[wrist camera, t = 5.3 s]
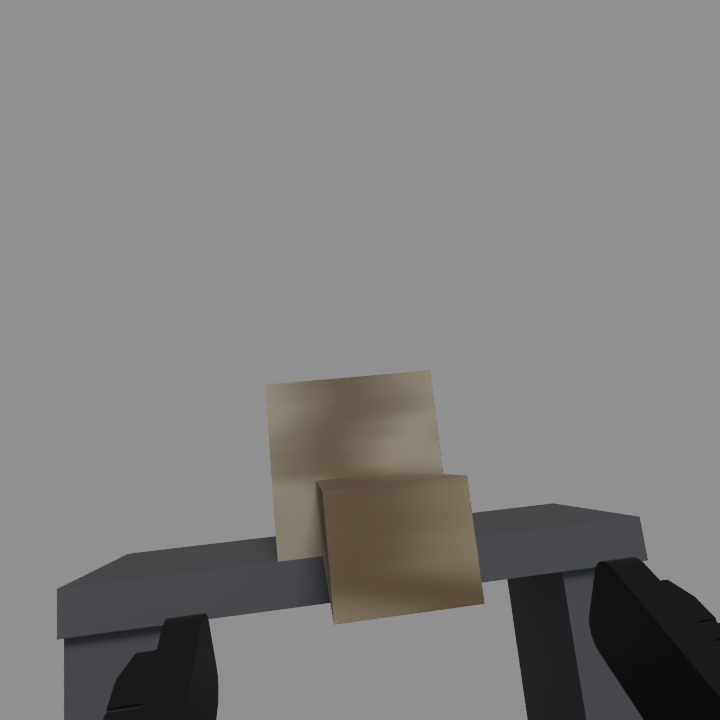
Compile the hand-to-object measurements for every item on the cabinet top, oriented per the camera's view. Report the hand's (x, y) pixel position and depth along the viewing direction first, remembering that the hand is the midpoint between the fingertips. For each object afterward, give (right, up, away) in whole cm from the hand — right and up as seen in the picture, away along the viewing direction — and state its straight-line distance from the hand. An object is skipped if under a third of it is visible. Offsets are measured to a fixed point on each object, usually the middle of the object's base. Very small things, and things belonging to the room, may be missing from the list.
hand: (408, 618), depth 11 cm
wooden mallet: (-1, -1, +6) cm, 7 cm away
